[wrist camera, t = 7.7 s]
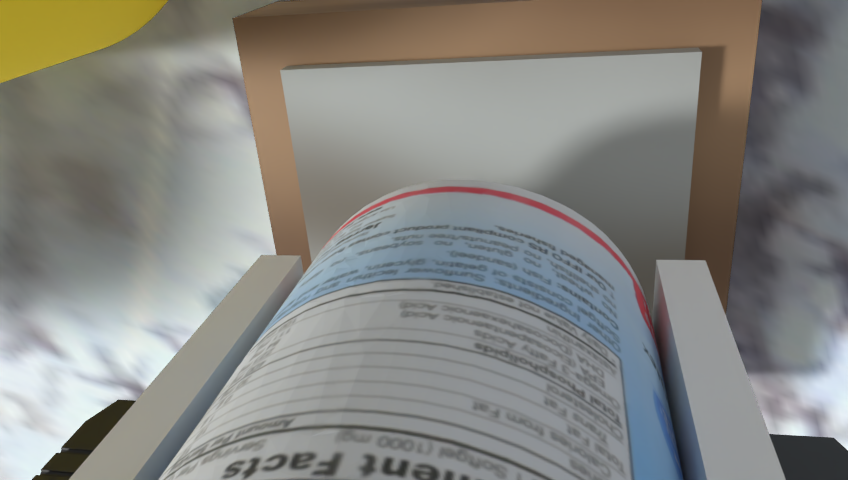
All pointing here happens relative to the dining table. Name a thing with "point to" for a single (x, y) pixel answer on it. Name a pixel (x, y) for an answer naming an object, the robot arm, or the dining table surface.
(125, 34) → the yellow toilet paper roll
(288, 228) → the stand
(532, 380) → the pill bottle
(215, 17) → the dining table surface
